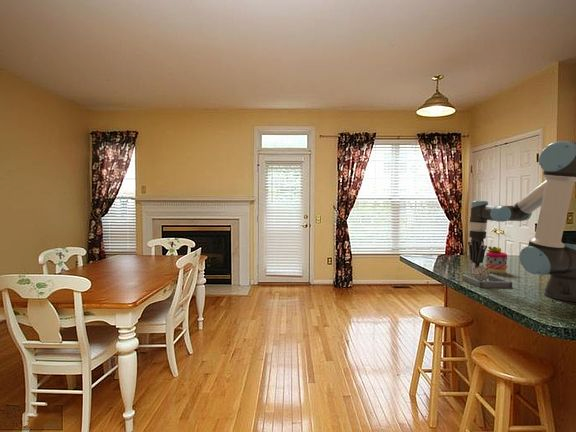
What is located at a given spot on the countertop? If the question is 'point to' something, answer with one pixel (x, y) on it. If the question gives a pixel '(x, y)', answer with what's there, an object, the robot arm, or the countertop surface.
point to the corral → (496, 282)
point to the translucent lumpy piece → (481, 273)
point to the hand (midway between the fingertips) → (475, 275)
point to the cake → (496, 260)
